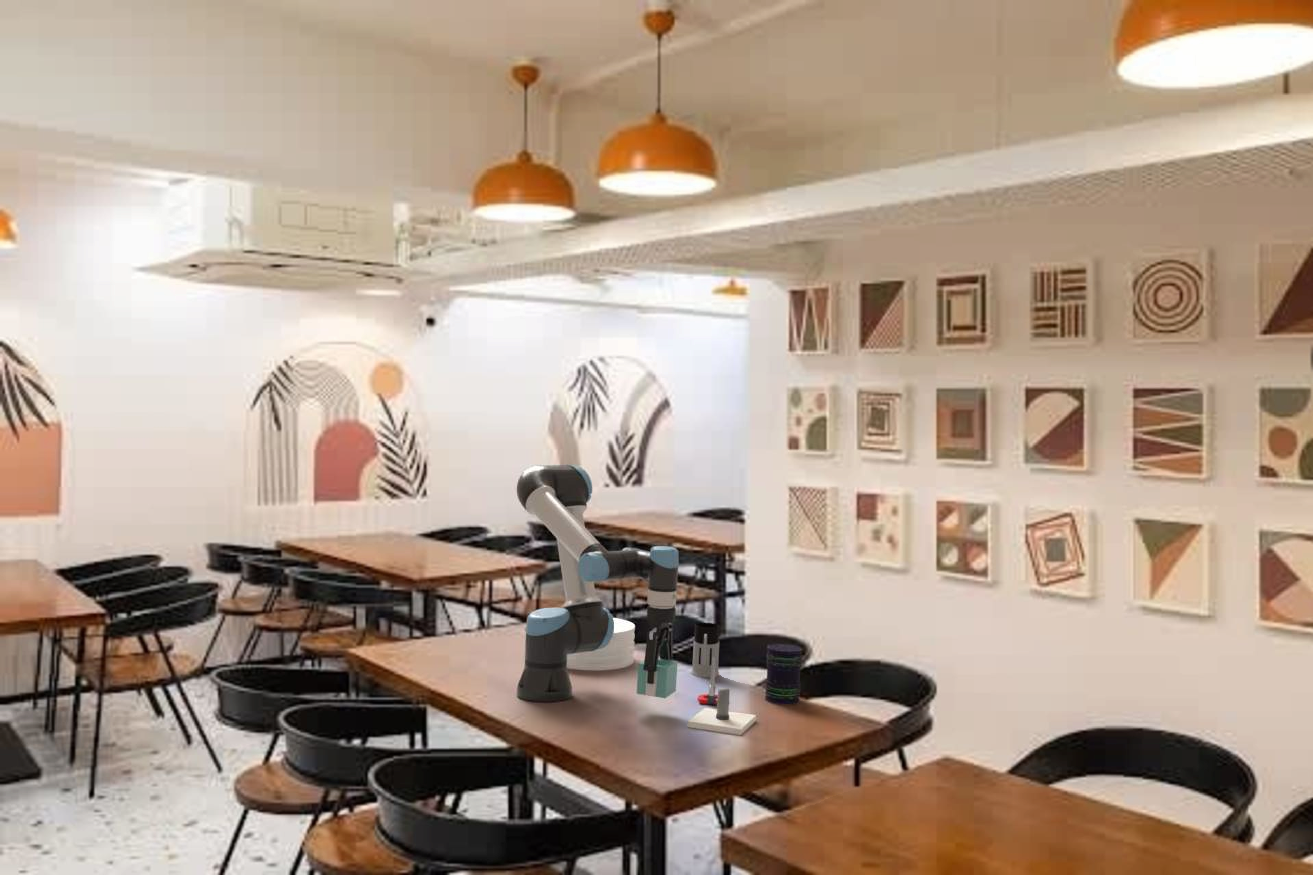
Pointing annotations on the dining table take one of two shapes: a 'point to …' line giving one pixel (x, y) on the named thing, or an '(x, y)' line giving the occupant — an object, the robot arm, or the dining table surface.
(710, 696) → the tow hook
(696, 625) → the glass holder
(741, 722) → the post stand
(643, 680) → the sleeve
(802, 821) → the dining table surface
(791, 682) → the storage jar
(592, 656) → the plate stack
